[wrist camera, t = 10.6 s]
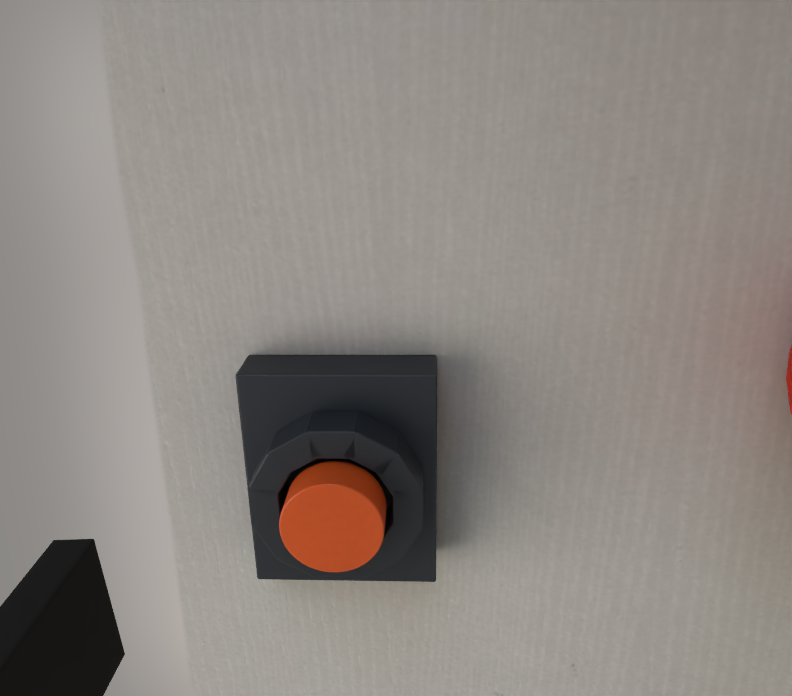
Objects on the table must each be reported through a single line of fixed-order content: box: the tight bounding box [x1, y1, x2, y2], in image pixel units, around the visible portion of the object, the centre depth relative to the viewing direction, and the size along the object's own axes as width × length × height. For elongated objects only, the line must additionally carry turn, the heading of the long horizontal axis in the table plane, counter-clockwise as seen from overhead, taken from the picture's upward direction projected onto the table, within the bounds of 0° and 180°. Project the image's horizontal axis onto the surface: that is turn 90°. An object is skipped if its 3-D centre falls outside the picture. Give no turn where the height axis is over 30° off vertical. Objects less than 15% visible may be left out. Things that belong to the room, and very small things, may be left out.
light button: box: [279, 461, 387, 572], centre depth 27 cm, size 4×4×2 cm
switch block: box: [236, 355, 437, 582], centre depth 29 cm, size 10×8×4 cm
